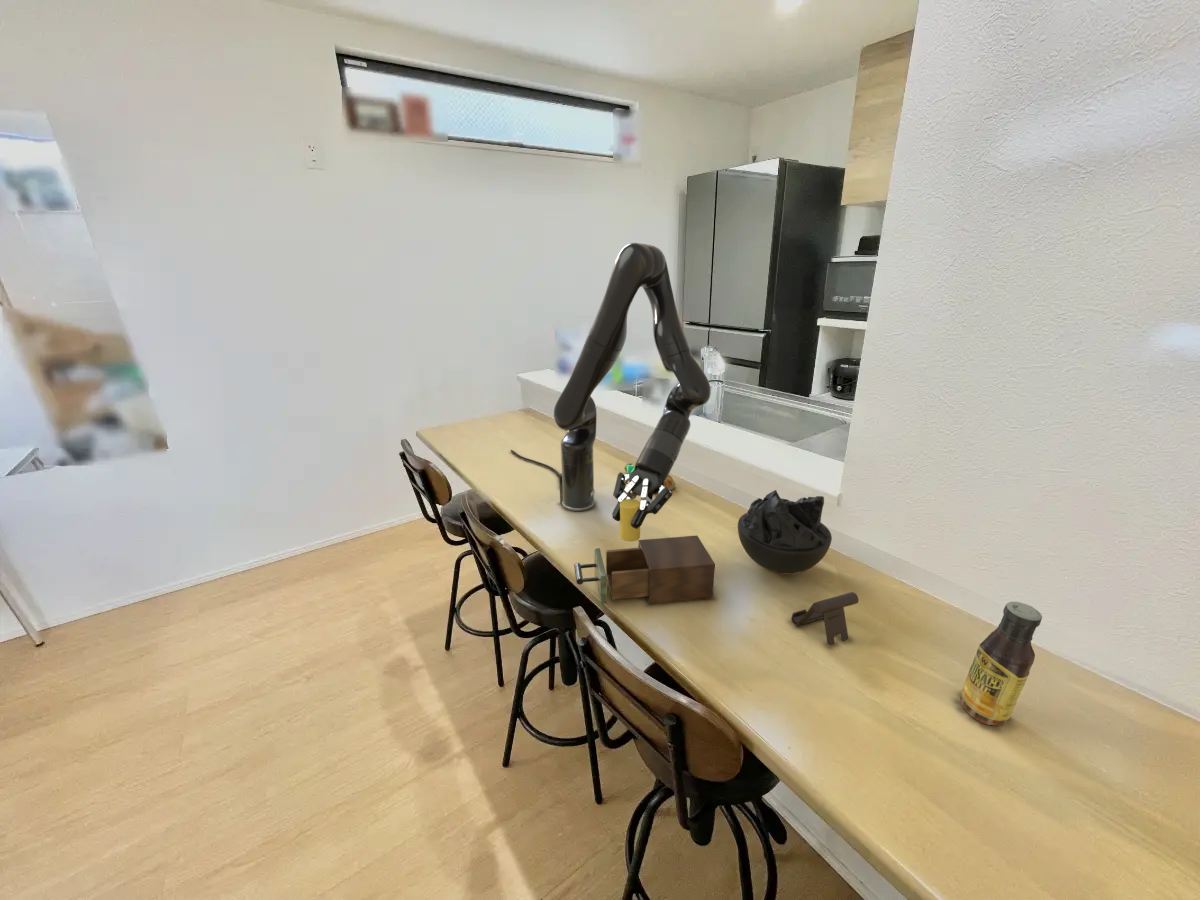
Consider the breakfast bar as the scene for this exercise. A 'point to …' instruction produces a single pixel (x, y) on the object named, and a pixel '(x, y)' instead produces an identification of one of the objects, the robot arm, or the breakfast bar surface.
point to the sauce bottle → (1001, 666)
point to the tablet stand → (828, 615)
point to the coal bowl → (785, 533)
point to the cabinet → (678, 569)
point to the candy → (629, 468)
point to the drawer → (618, 573)
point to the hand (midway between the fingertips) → (624, 523)
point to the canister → (628, 520)
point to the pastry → (669, 483)
